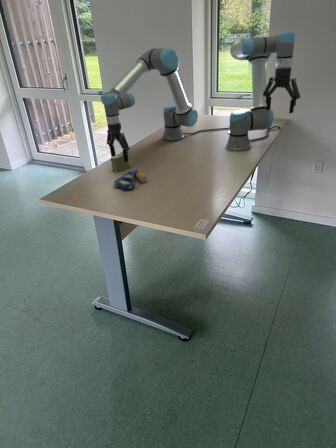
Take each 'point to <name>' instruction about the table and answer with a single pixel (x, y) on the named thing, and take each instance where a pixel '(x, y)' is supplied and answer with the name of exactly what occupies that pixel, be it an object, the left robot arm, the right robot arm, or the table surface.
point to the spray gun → (129, 179)
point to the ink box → (119, 163)
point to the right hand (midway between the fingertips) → (279, 111)
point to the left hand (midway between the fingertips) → (119, 158)
